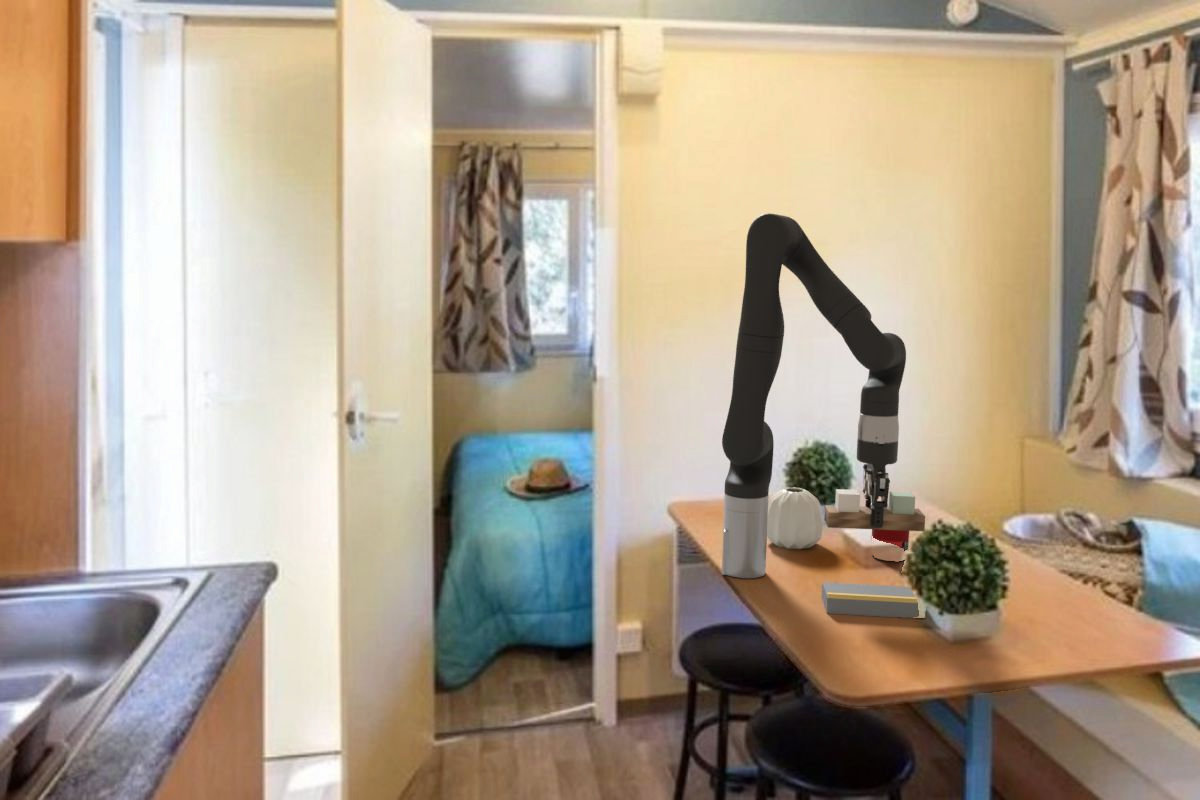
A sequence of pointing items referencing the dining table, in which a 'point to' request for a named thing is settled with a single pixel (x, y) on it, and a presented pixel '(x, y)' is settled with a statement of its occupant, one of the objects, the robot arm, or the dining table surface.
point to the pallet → (864, 519)
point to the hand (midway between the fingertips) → (873, 522)
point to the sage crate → (901, 502)
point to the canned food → (892, 537)
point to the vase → (794, 519)
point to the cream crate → (847, 500)
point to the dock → (869, 600)
